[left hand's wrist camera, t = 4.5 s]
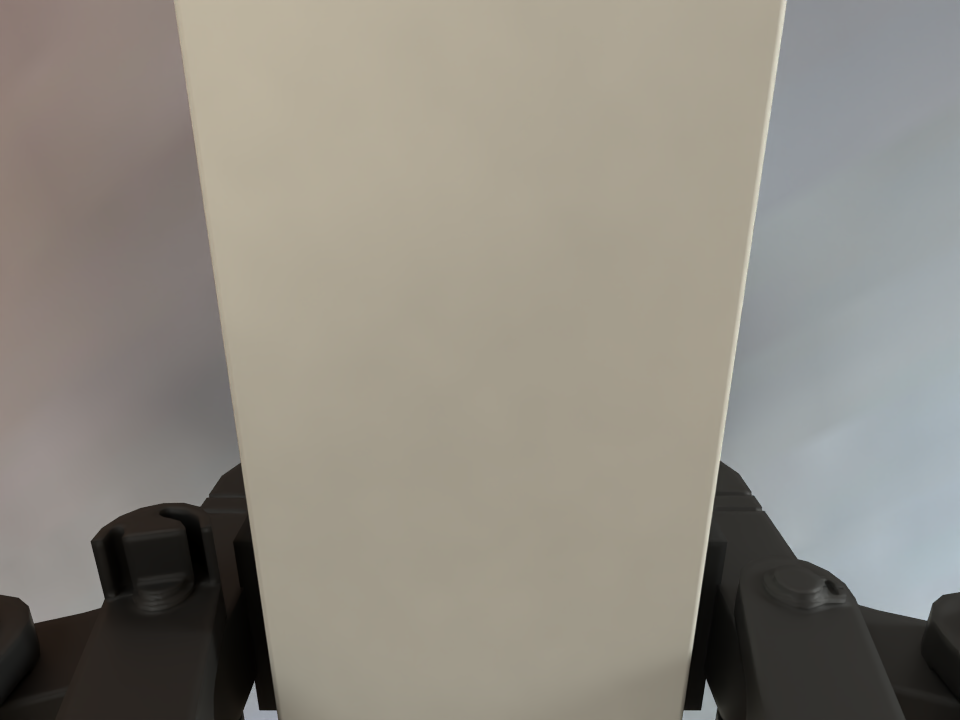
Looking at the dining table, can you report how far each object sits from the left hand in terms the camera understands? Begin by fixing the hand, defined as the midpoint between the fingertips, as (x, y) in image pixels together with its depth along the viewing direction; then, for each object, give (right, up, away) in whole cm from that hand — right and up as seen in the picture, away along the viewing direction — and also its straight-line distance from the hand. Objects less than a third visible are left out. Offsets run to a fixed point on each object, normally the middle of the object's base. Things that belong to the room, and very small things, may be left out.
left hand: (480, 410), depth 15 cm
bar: (0, -18, +8) cm, 19 cm away
